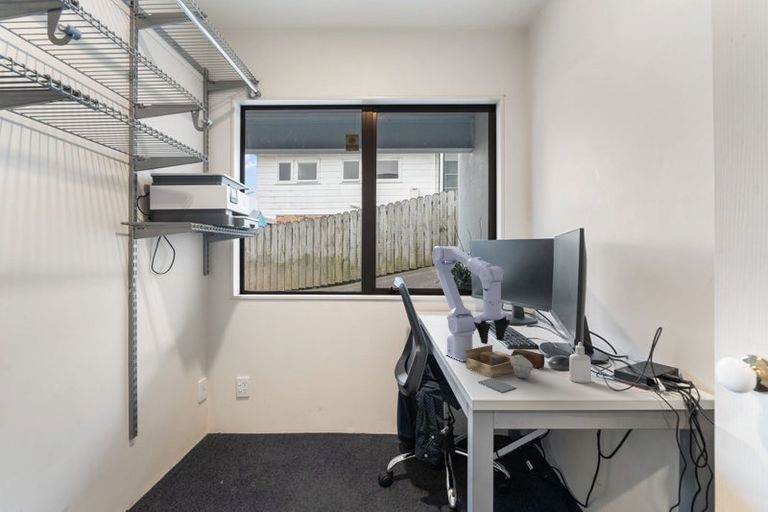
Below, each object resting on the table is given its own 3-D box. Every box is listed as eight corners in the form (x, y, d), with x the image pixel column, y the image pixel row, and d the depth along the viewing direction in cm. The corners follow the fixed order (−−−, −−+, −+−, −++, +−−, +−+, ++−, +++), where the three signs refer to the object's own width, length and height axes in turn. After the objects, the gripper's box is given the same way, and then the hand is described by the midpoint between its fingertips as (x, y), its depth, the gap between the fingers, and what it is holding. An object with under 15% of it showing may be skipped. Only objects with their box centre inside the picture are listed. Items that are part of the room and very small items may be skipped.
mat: (478, 382, 103) (478, 381, 103) (491, 378, 106) (491, 377, 106) (502, 392, 95) (502, 391, 95) (516, 388, 98) (516, 387, 98)
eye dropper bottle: (589, 385, 100) (589, 345, 100) (568, 381, 104) (568, 342, 104) (591, 381, 104) (591, 342, 104) (571, 377, 107) (570, 339, 107)
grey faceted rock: (515, 372, 112) (515, 351, 112) (536, 377, 107) (536, 355, 107) (506, 377, 107) (506, 355, 107) (528, 383, 102) (528, 360, 102)
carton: (465, 367, 116) (465, 350, 116) (496, 360, 124) (496, 343, 124) (491, 377, 107) (491, 359, 107) (523, 369, 115) (523, 351, 115)
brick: (545, 367, 116) (545, 354, 116) (538, 370, 114) (538, 356, 114) (517, 360, 125) (517, 347, 125) (510, 362, 123) (510, 349, 123)
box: (480, 367, 117) (480, 353, 117) (488, 365, 119) (488, 351, 119) (496, 373, 111) (496, 358, 111) (504, 371, 113) (504, 356, 113)
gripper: (486, 305, 107) (486, 347, 107) (515, 301, 115) (516, 341, 115) (469, 302, 113) (470, 342, 114) (499, 299, 121) (499, 337, 121)
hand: (492, 341), depth 115 cm, fingers open, 7 cm apart
